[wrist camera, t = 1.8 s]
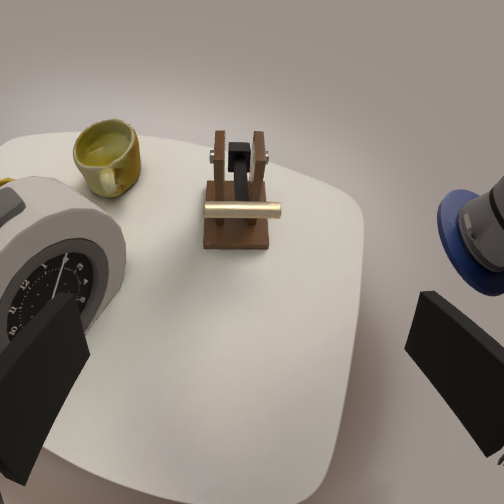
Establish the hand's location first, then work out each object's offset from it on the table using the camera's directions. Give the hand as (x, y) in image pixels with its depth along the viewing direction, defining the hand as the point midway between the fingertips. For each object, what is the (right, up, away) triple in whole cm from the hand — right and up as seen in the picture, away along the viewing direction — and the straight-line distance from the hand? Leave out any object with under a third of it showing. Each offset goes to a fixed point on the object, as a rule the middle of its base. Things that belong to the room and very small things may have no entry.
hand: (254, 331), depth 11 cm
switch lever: (-1, +9, +17) cm, 19 cm away
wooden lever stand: (-2, +8, +30) cm, 31 cm away
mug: (-20, +13, +31) cm, 39 cm away
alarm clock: (-23, -5, +22) cm, 32 cm away
